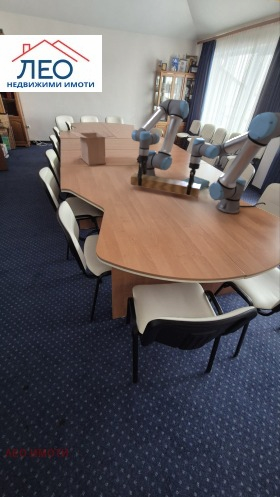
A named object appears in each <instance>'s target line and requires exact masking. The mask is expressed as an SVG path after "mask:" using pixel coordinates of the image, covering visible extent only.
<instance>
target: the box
mask: <svg viewBox="0 0 280 497" xmlns="http://www.w3.org/2000/svg"><path fill="white" fill-rule="evenodd" d="M70 133H71V134H72V135H74V136H75V137H77V138H79V144H80V153H81V160H83V162H85V163H86V165H87V166H95V165H97V166H98V165H106V163H107V162H106V158H107V157H106V138H113V137H114V136H113V135H111V134H109V133H108V132H105V131H98V132H96V131H95V130H92V129H91V130H77V132H76V131H70Z"/></svg>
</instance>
